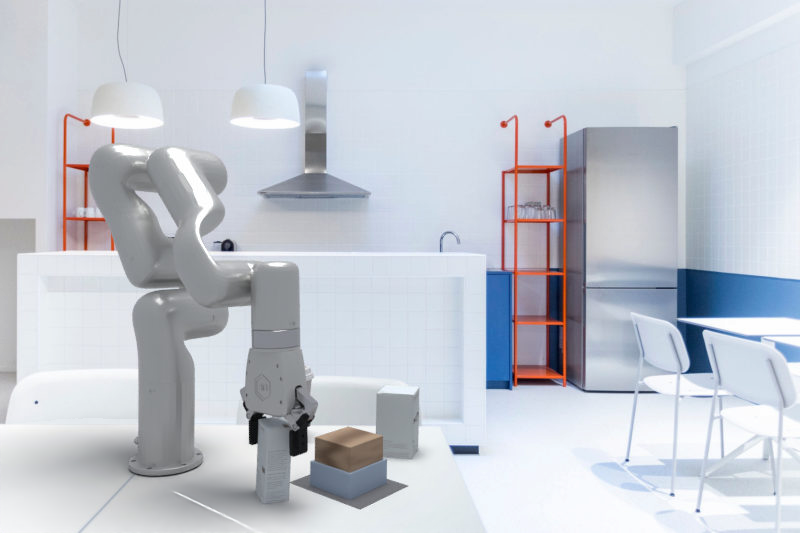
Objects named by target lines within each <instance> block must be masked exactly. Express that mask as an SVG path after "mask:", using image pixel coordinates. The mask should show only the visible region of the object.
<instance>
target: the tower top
mask: <svg viewBox="0 0 800 533" xmlns="http://www.w3.org/2000/svg"><path fill="white" fill-rule="evenodd" d="M383 458H384V457H383V436H382V435H378V434H376V432H375V433H374V432H372V431H371V432H370V431H367V430H362V429H359V428H356V427H352V426H345V427H342V428H340V429H337V430H334V431H330V432H329V431H328V433H327V432H326V433H324V434H321V435H320V434H319V435H317V436H315V437H314V460H315V461H316V462H319V463H322V464H325V465H328V466H331V467H334V468H337V469H340V470H343V471H346V472H349V473H351V472H353V471H356V470H358V469H361V468H363V467H366V466H368V465H371V464H373V463H376V462H378V461H380V460H383Z"/></svg>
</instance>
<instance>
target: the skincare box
mask: <svg viewBox="0 0 800 533" xmlns="http://www.w3.org/2000/svg"><path fill="white" fill-rule="evenodd" d="M289 430H292V427H291V426H290V424H289V422H288V421H287V420H285V418H284V417H272V416H270V417H266V418H263V419H259V420H258V444H257V452H256V453H257V454H256V473H255V474H256V478H255V479H256V480H255V492H256V494H257V497H258V499H259V500H260V502H261V504H262V505H266V504H267V505H268V504H272V503H278V502H279V503H280V502H286V501H289V500H290V484H291V483H290V482H291V460H292V456H290V454H289Z"/></svg>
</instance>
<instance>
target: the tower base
mask: <svg viewBox="0 0 800 533" xmlns="http://www.w3.org/2000/svg"><path fill="white" fill-rule="evenodd" d="M309 465H310V466H309V468H310V469H309V472H310V473H309V475H310V485H311V486H314V487H316V488H319V489H322V490H325V491H327V492H330V493H333V494H335V495H338V496H341V497H343V498H346V499H349V500H351V499H353V498H355V497H357V496H359V495H362V494H364V493H366V492H368V491H370V490H373V489H375V488H377V487H379V486H381V485H383V484H386V483H387V479H388V478H387V477H388V459H387V458H385V457H383V460H380V461H378V462H376V463H373V464H371V465H368V466H366V467H363V468H361V469H358V470H356V471H353V472H351V473H349V472H346V471H343V470H340V469H337V468H334V467H331V466H328V465H325V464H322V463H319V462H316V461H315V459H313V460H310V464H309Z"/></svg>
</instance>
